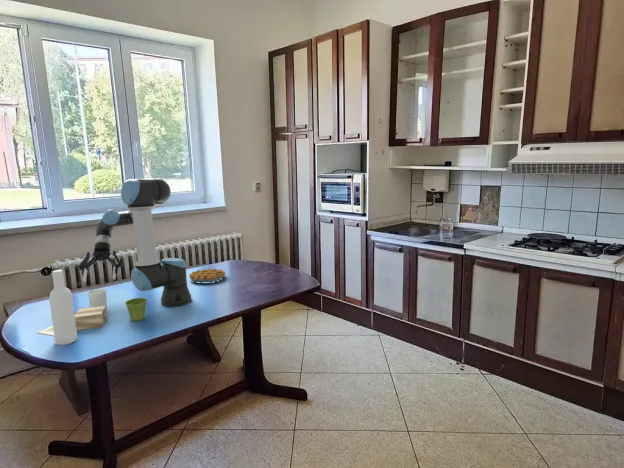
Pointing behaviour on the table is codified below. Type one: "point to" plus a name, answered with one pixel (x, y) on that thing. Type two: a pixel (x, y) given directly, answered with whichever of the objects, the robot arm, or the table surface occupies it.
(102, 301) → the white cup
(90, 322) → the beech block
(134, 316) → the plant pot
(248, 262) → the table surface
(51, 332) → the page
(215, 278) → the pie
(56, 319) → the bottle
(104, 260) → the robot arm
